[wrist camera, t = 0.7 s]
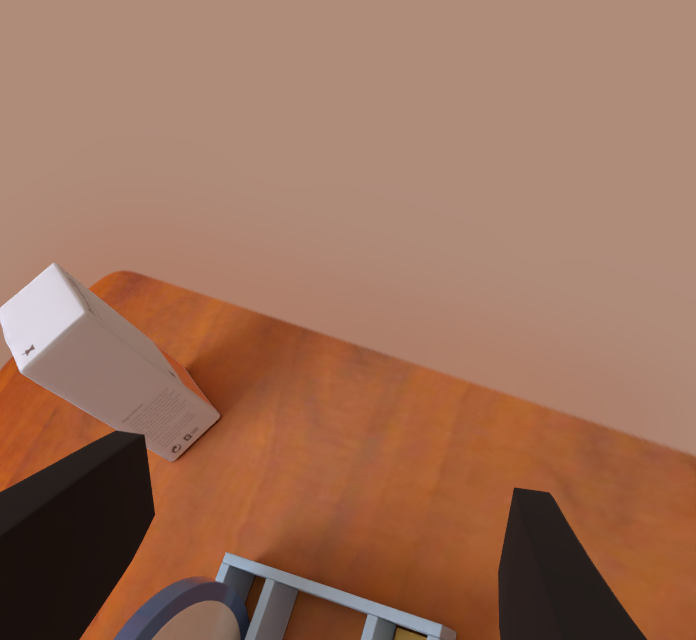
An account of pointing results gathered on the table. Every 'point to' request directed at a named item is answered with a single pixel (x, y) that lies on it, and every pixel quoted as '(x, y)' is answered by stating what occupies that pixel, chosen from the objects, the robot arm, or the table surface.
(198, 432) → the cosmetic box
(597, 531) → the table surface
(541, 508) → the robot arm
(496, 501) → the table surface
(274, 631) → the rack
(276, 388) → the table surface
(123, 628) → the plate
